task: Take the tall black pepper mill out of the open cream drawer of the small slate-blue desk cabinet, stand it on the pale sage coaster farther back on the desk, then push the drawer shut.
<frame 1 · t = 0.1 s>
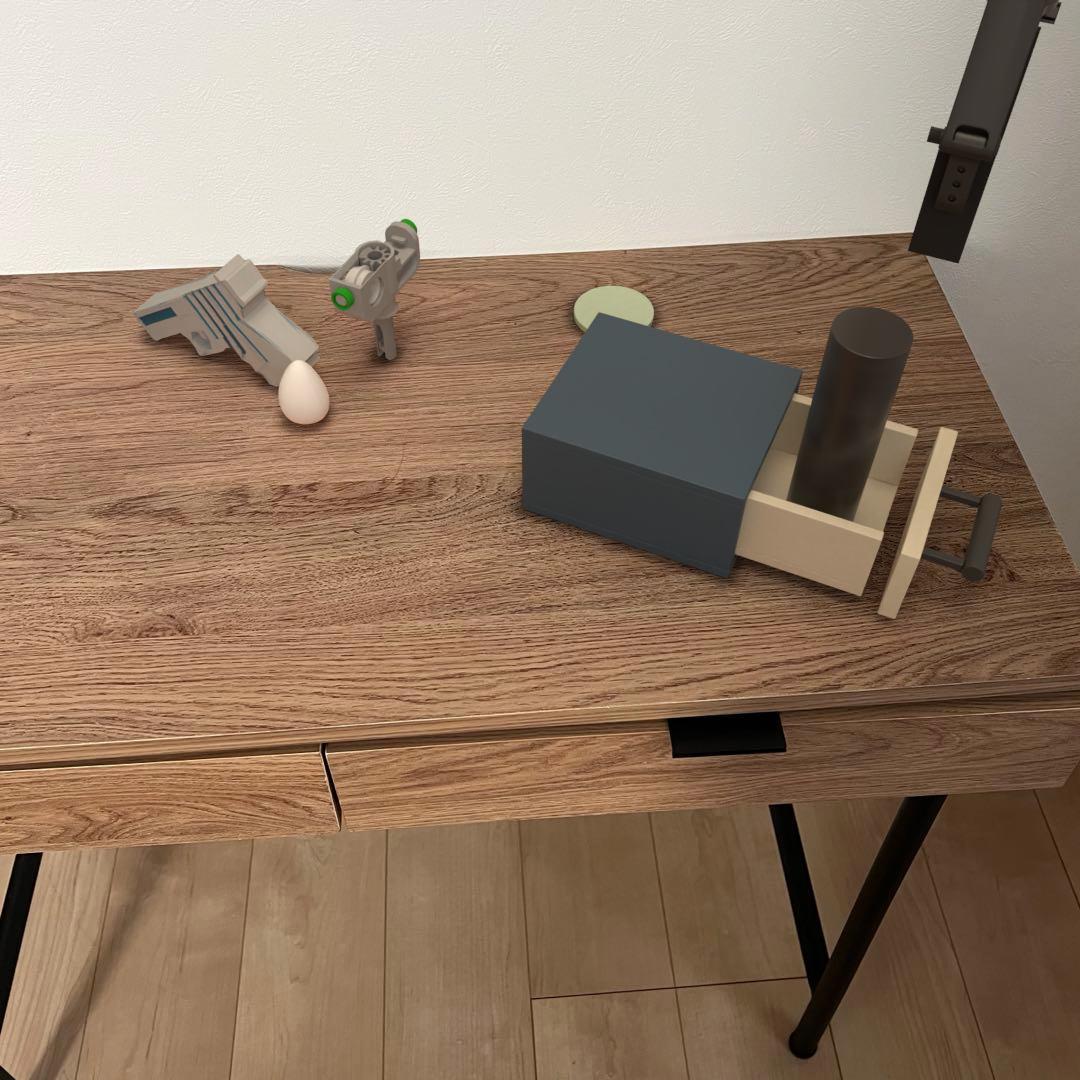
hand: (958, 189, 64), 25 cm above the table, tool pointing down, fingers open, 13 cm apart
cabinet: (655, 479, 83), on the table
toy gun: (230, 356, 92), on the table
pepper mill: (819, 511, 78), point 2 cm above the table, touching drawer
coaster: (613, 315, 95), on the table
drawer: (851, 500, 76), point 4 cm above the table, slide at 10.0 cm, touching pepper mill
egg: (308, 418, 87), on the table
mechanical component: (387, 356, 92), on the table
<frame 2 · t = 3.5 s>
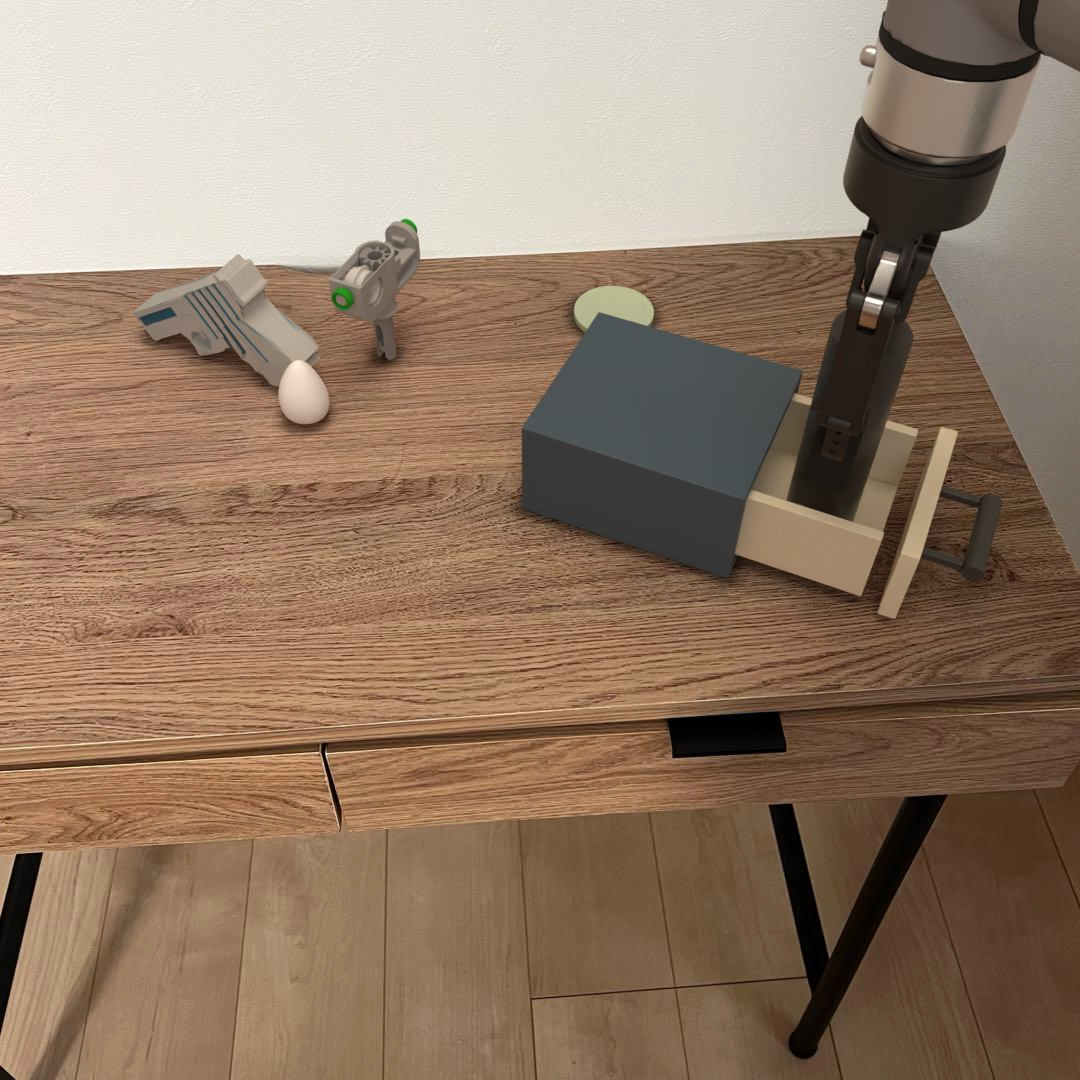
hand: (836, 454, 74), 8 cm above the table, tool pointing down, fingers closed on pepper mill, 5 cm apart
pepper mill: (819, 511, 78), point 2 cm above the table, touching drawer, gripper
everything else where it was.
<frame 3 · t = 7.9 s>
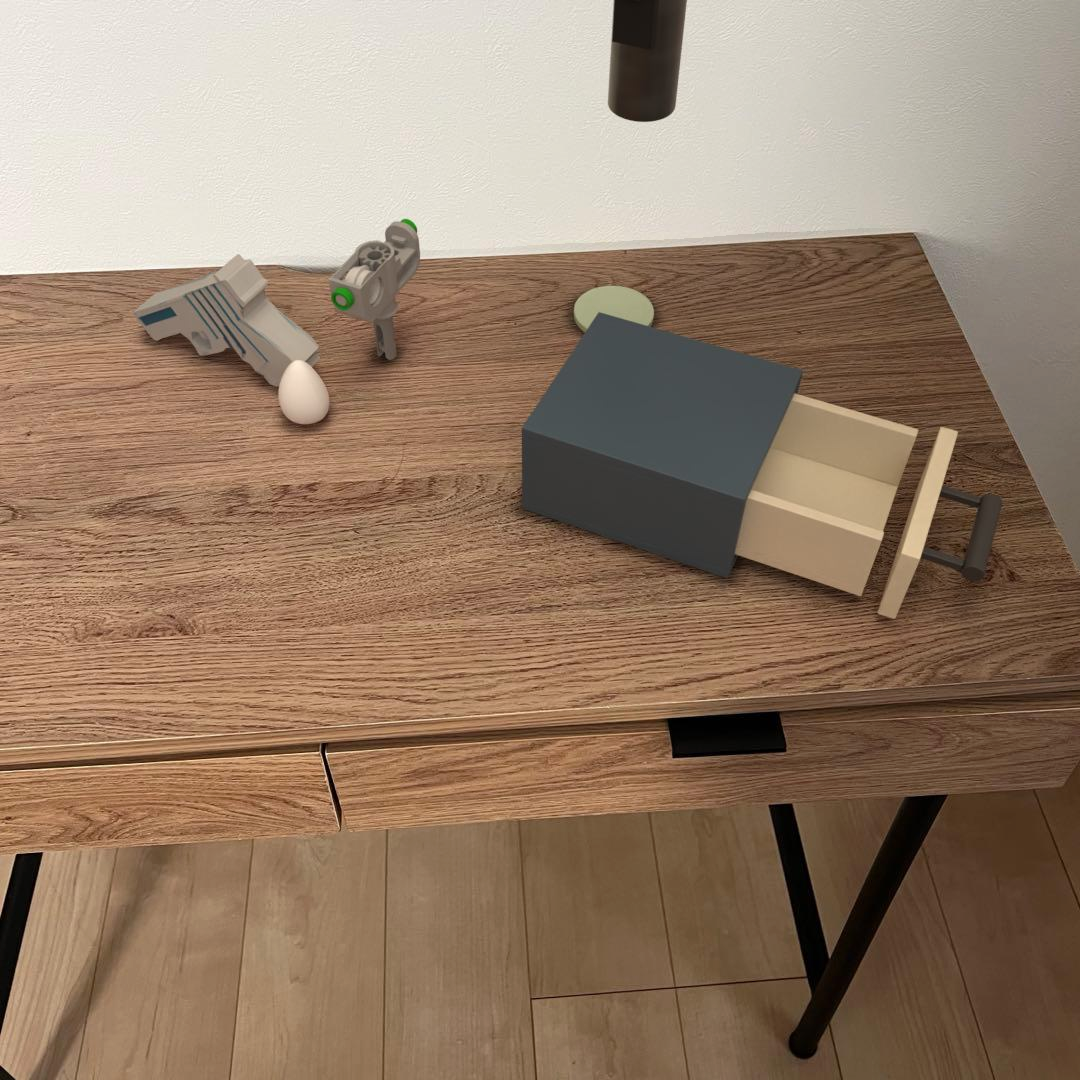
hand: (648, 24, 75), 26 cm above the table, tool pointing down, fingers closed on pepper mill, 5 cm apart
pepper mill: (641, 104, 79), point 20 cm above the table, touching gripper
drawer: (851, 500, 76), point 4 cm above the table, slide at 10.0 cm
everything else where it was.
when the fingers open (6 cm above the table, at t = 12.4 s): pepper mill stays where it is, resting on coaster.
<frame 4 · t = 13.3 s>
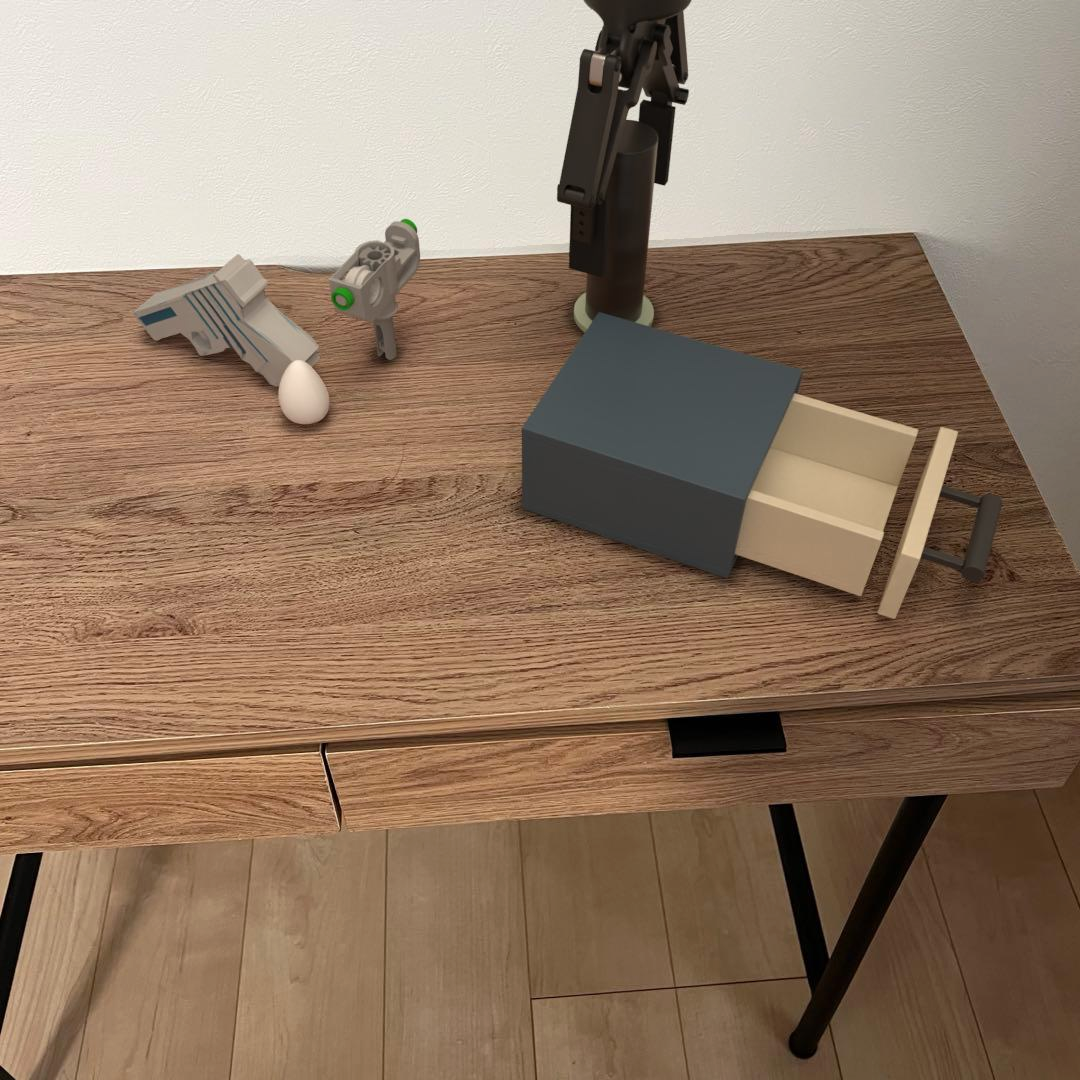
hand: (620, 223, 88), 9 cm above the table, tool pointing down, fingers open, 13 cm apart
pepper mill: (613, 309, 95), point 1 cm above the table, touching coaster
everything else where it was.
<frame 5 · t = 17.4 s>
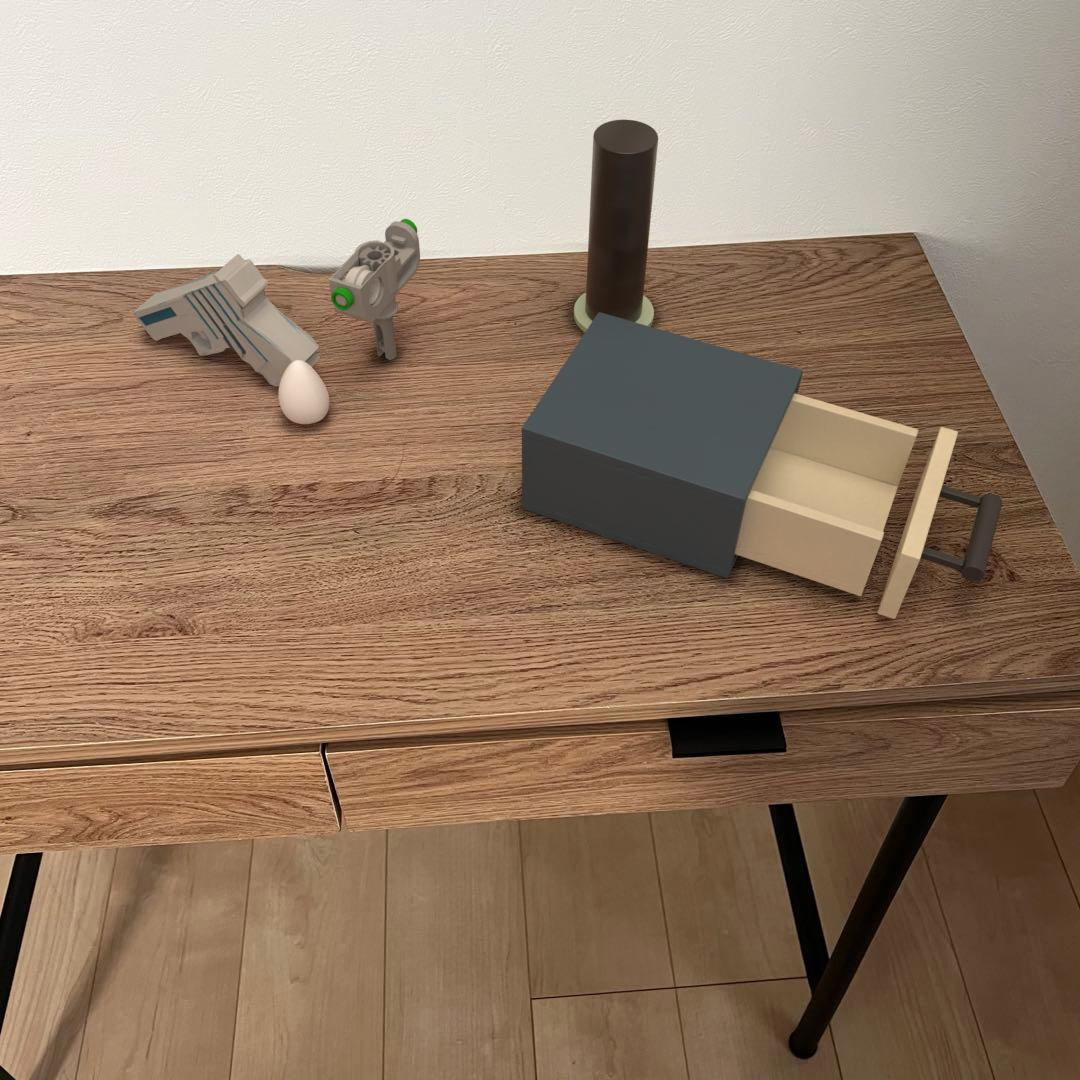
nothing on the table moved.
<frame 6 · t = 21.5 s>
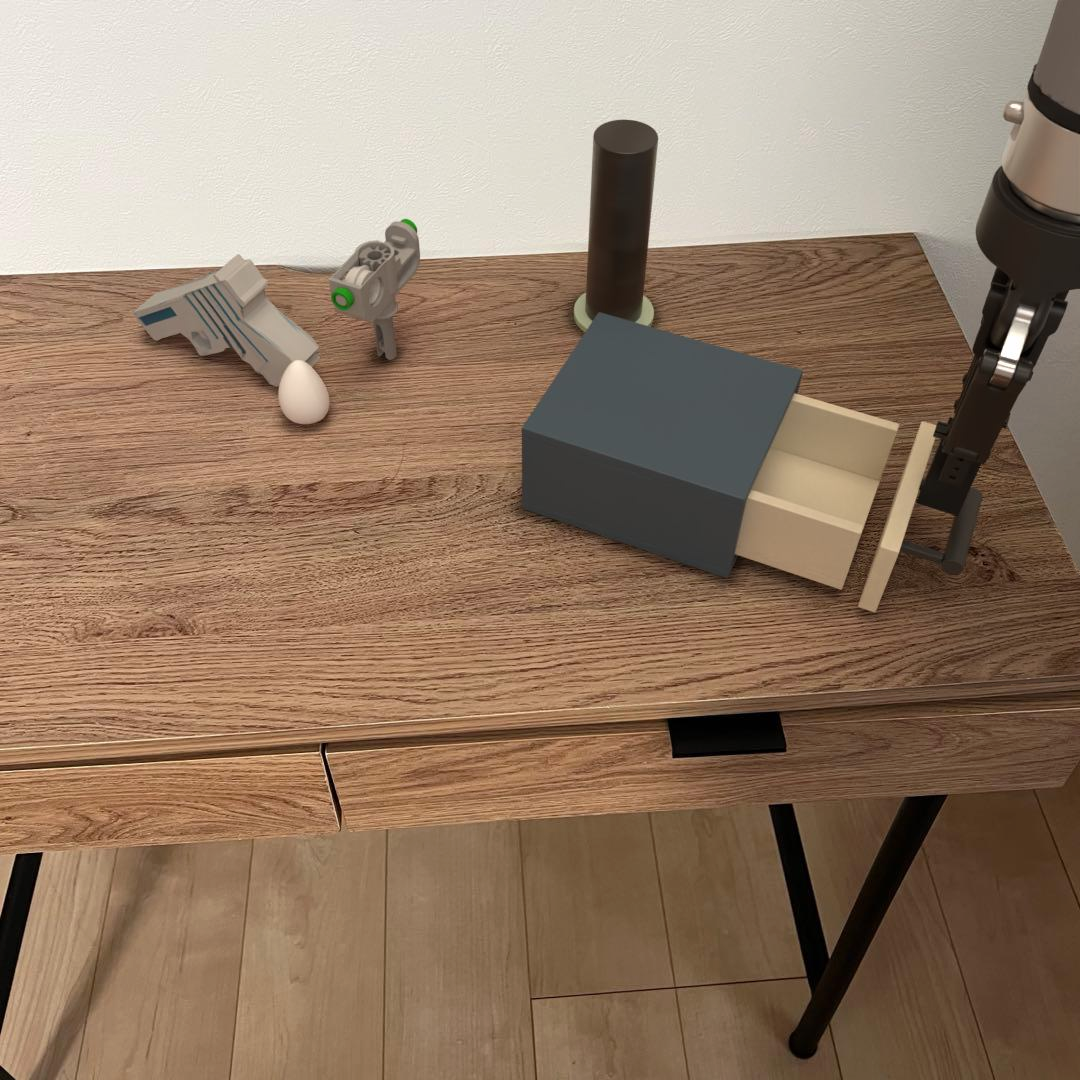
hand: (939, 501, 73), 6 cm above the table, tool pointing down, fingers closed
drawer: (832, 494, 77), point 4 cm above the table, slide at 8.7 cm, touching gripper
everything else where it was.
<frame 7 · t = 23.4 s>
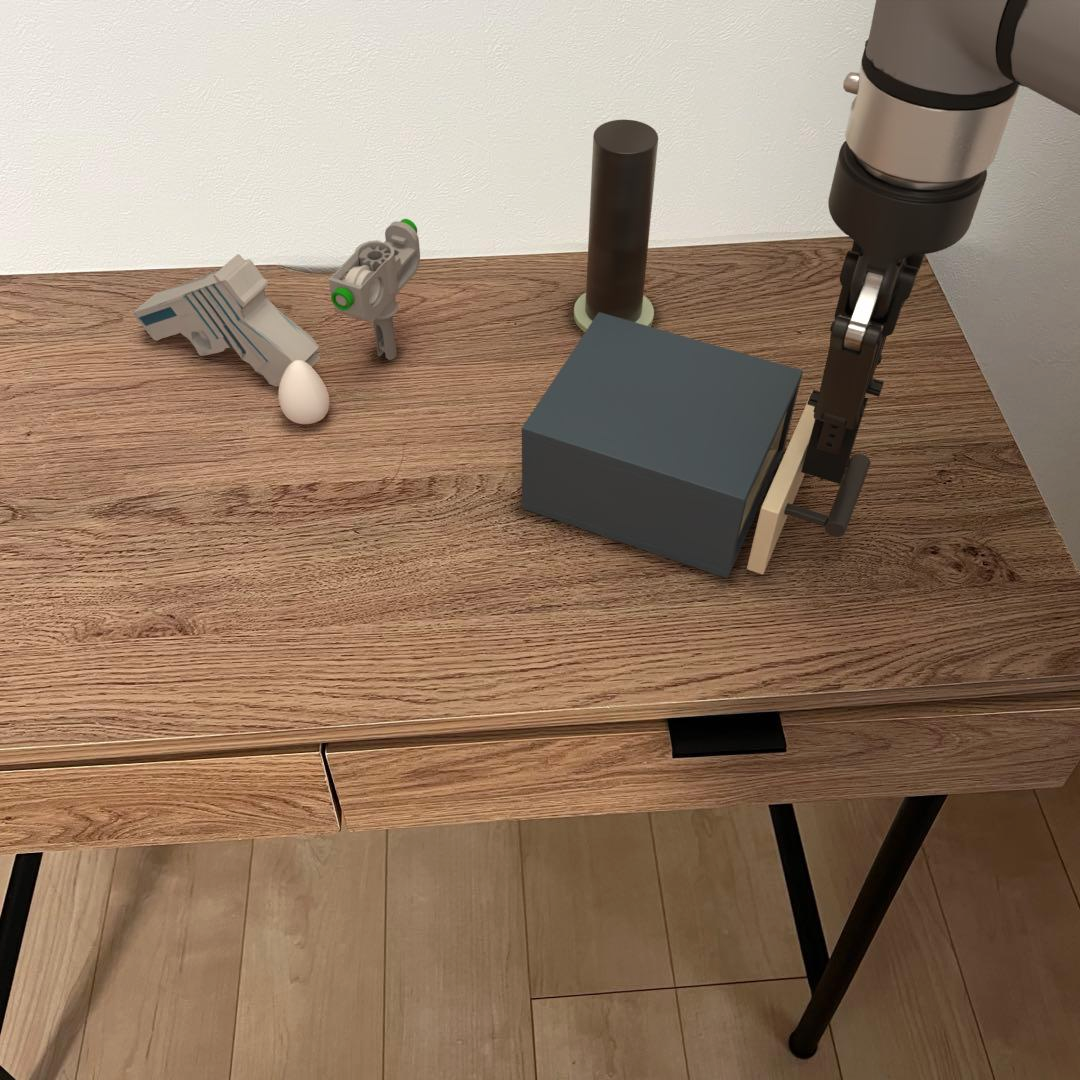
hand: (823, 470, 75), 6 cm above the table, tool pointing down, fingers closed
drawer: (725, 460, 79), point 4 cm above the table, slide at 1.0 cm
everything else where it was.
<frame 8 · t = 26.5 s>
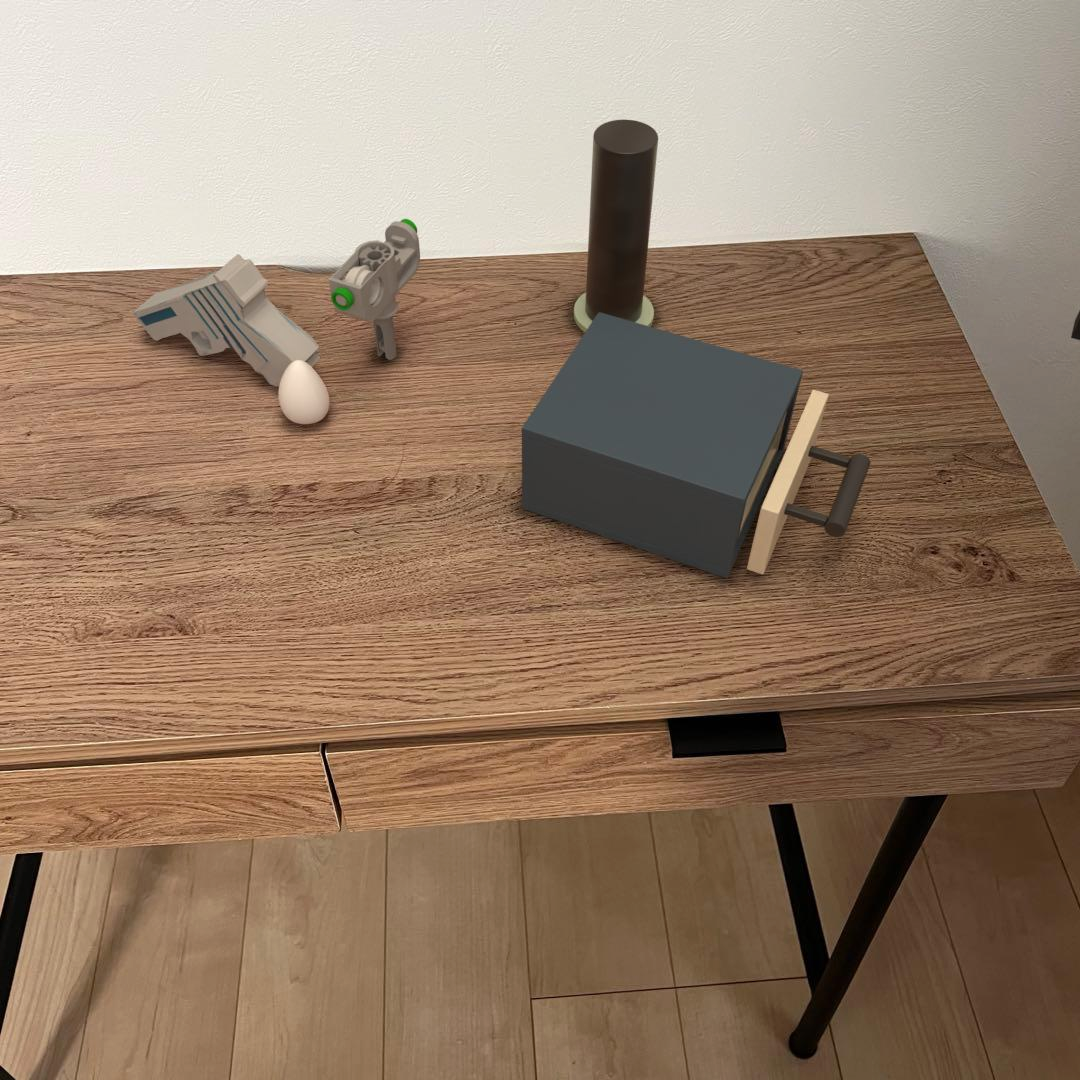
nothing on the table moved.
at the end: pepper mill 0.0 cm off-centre on the coaster, point 0.6 cm above the coaster's base; pepper mill tilted 0°; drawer slide at 1.0 cm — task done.
